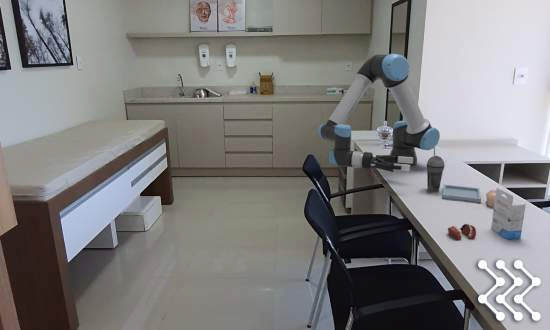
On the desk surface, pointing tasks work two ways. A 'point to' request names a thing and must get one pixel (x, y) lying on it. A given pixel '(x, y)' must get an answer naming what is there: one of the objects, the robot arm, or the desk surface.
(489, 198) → the brown egg
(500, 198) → the ink box
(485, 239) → the desk surface
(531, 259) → the desk surface
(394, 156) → the robot arm
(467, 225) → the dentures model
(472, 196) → the tray
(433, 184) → the beverage cup
